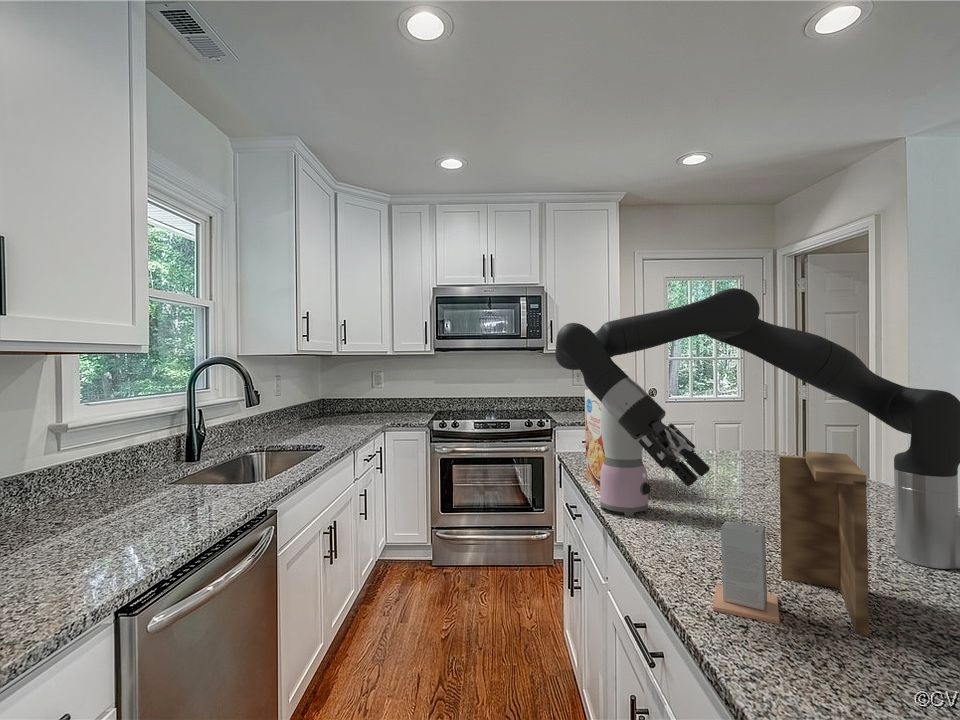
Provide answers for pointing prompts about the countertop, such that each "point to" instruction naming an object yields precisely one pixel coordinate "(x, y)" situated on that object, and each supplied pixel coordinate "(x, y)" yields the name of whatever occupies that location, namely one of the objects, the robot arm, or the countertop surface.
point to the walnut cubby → (826, 527)
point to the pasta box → (593, 438)
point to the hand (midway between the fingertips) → (700, 477)
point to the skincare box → (744, 565)
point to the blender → (622, 469)
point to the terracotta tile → (747, 608)
